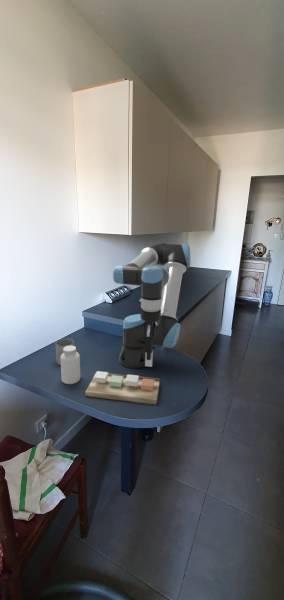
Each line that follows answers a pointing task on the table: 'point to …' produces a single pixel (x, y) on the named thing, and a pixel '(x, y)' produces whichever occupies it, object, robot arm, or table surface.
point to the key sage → (116, 381)
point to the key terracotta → (147, 384)
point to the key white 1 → (100, 377)
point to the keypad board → (124, 390)
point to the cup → (59, 348)
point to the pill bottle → (70, 365)
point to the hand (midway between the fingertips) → (148, 365)
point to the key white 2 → (132, 380)
